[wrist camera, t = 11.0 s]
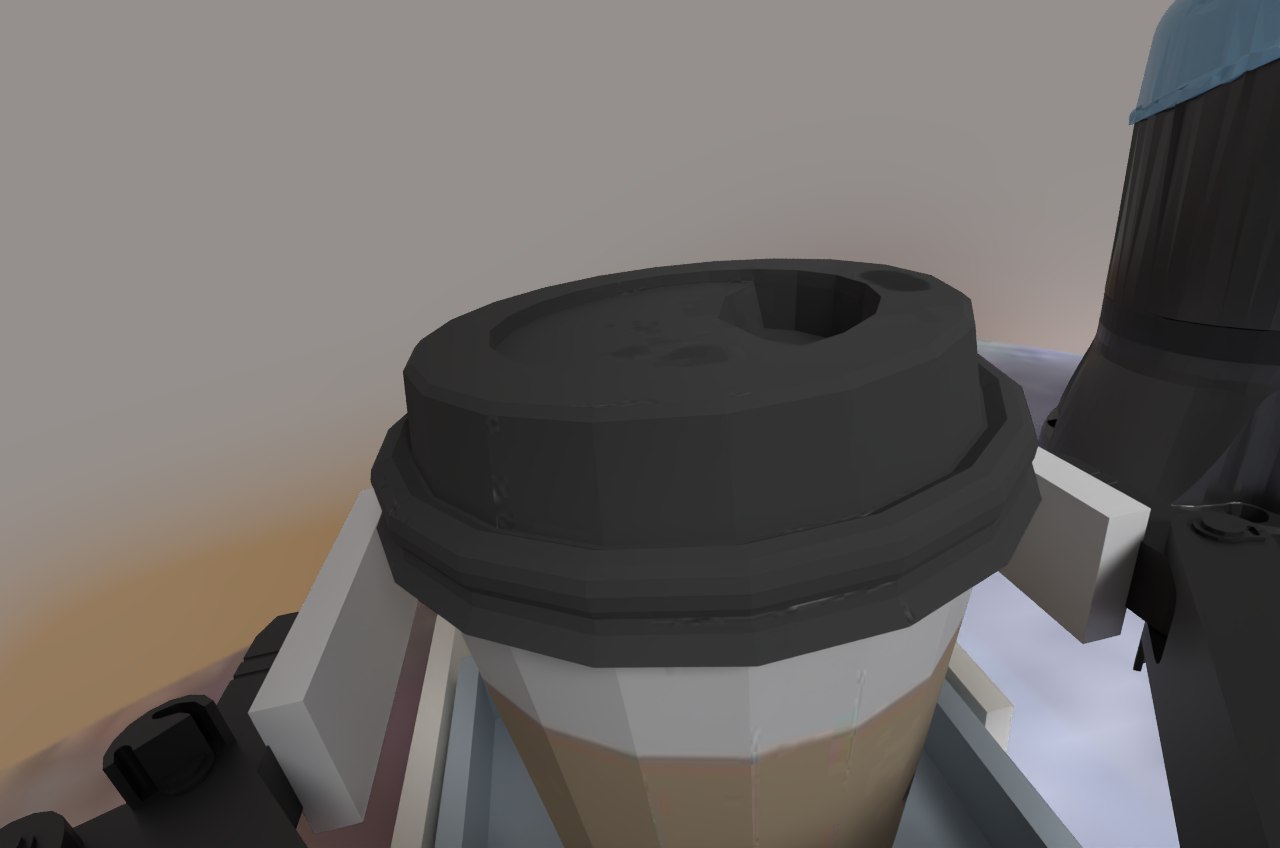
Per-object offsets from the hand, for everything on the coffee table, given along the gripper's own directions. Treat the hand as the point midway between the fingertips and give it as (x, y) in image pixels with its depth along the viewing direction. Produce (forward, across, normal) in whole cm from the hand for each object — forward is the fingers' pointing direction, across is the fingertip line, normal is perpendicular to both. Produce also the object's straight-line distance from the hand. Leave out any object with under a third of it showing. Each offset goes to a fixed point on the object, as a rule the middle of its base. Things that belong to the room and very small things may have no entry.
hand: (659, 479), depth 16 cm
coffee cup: (-3, 0, -10) cm, 11 cm away
